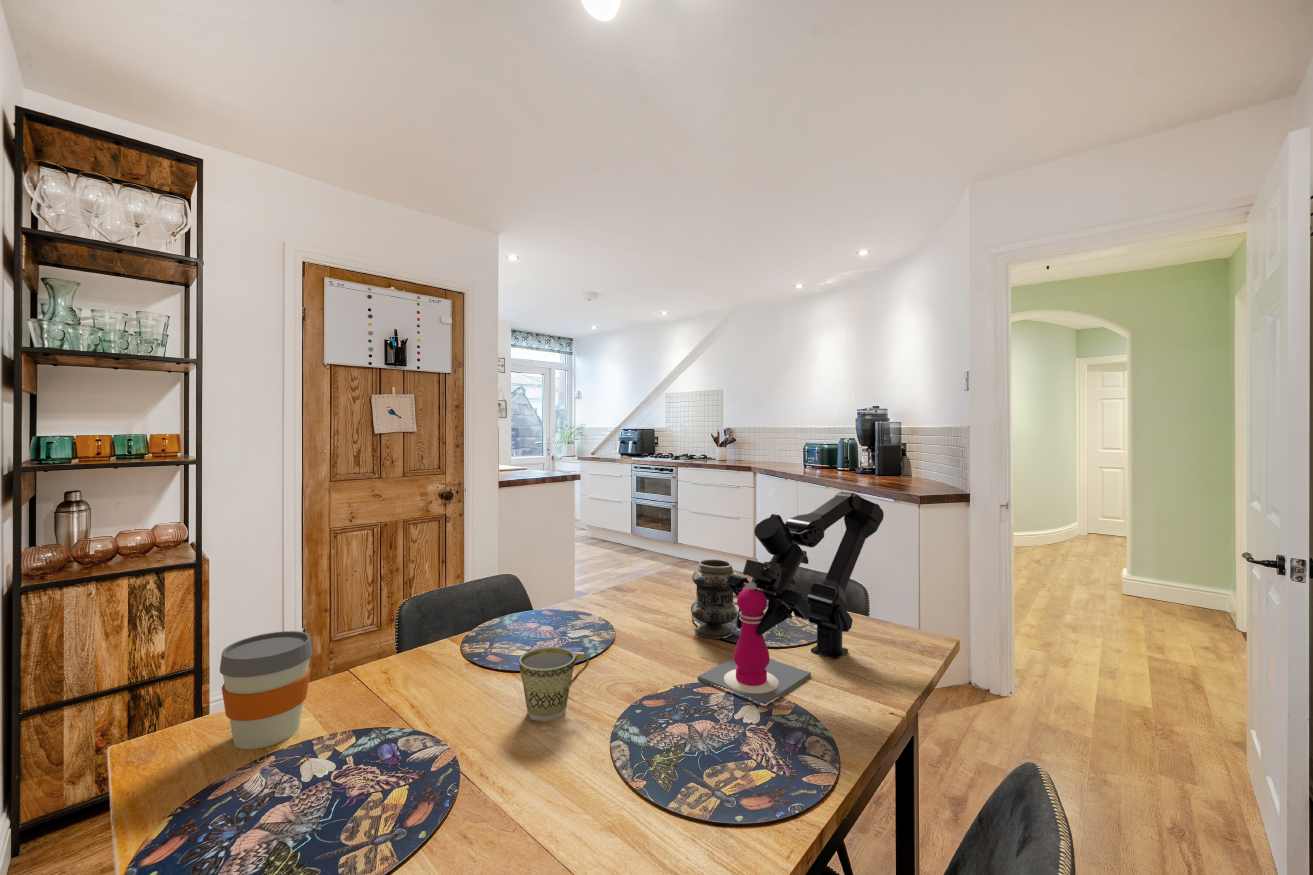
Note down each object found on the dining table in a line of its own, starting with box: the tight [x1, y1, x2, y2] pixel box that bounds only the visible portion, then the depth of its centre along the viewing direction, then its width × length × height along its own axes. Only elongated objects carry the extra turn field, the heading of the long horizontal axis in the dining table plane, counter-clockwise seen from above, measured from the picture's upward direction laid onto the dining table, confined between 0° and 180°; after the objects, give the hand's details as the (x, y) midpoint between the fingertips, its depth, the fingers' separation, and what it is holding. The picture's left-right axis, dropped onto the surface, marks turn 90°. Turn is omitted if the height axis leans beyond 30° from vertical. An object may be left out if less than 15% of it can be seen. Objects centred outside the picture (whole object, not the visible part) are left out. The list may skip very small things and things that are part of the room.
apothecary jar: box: [690, 558, 739, 640], centre depth 138 cm, size 12×12×18 cm
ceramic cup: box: [518, 646, 590, 723], centre depth 99 cm, size 13×10×10 cm
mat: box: [697, 657, 812, 704], centre depth 113 cm, size 18×16×1 cm
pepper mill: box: [733, 580, 770, 686], centre depth 110 cm, size 7×7×20 cm
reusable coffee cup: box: [219, 630, 313, 750], centre depth 90 cm, size 13×13×15 cm
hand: (747, 630), depth 109 cm, fingers closed on pepper mill, 5 cm apart
